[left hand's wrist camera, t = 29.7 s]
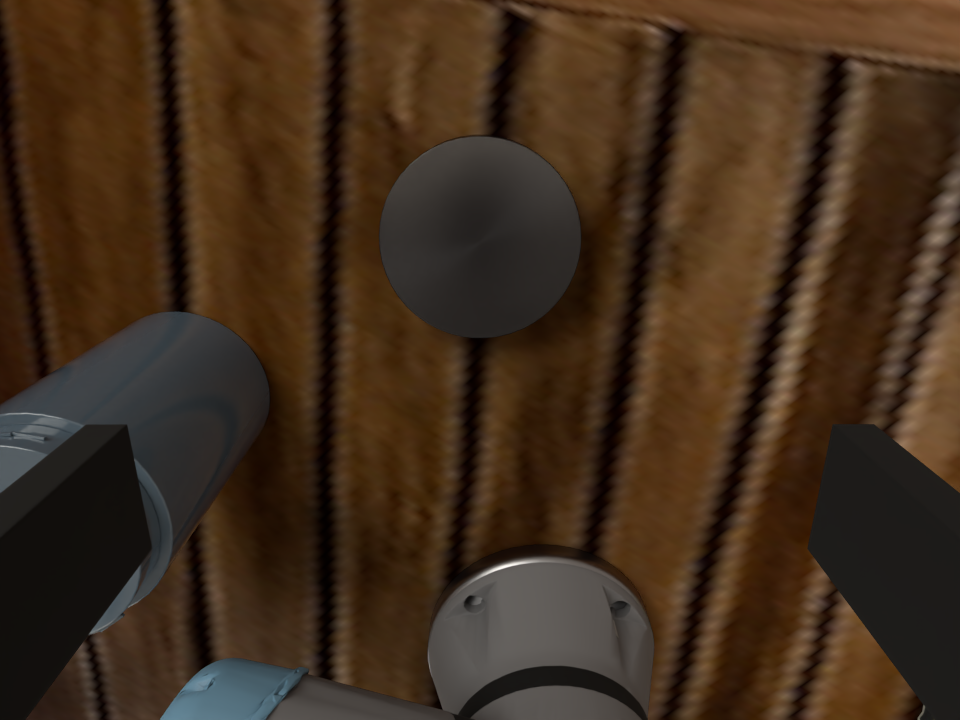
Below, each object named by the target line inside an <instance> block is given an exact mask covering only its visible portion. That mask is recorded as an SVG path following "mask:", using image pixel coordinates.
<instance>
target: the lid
mask: <svg viewBox="0 0 960 720" xmlns="http://www.w3.org/2000/svg"><path fill="white" fill-rule="evenodd" d="M379 244H380V253H381V258H382V263H383V266H384V269H385V272H386V275H387V277H388V279H389V281H390V283H391V286H392V287H393V289H394V290H395V292H396V294H397V295H398V297H399V298H400V299H401V300H402V301H403V303H404V304H405V305H406V306H407V307H408V308H409V309H410V310H411V311H412V312H413V313H414V314H415V315H416V316H418V317H419V318H421V319H422V320H423V321H425V322H426V323H428V324H430V325H432V326H433V327H435V328H437V329H440V330H442V331H445V332H447V333H450V334H454V335H458V336H462V337H470V338H490V337H498V336H502V335H506V334H510V333H513V332H516V331H518V330H521V329H523V328H525V327H527V326H529V325H531V324H532V323H534V322H536V321H537V320H538V319H540V318H541V317H543V316H544V315H545V314H546V313H547V312H548V311H549V310H550V309H552V308H553V307H554V305H555V304H556V303H557V302H558V301H559V300H560V298H561V297H562V296H563V294H564V293H565V291H566V289H567V288H568V286H569V284H570V282H571V280H572V278H573V276H574V273H575V270H576V267H577V264H578V260H579V255H580V250H581V225H580V219H579V214H578V210H577V207H576V204H575V201H574V198H573V196H572V194H571V192H570V190H569V188H568V186H567V184H566V183H565V182H564V180H563V179H562V177H561V176H560V174H559V173H558V172H557V171H556V170H555V169H554V168H553V167H552V166H551V165H550V163H548V162H547V161H546V160H545V159H543V158H542V157H541V156H540V155H539V154H537V153H536V152H534V151H533V150H531V149H530V148H528V147H526V146H525V145H522V144H520V143H518V142H515V141H513V140H510V139H506V138H503V137H499V136H491V135H469V136H462V137H458V138H454V139H450V140H447V141H445V142H443V143H440V144H438V145H436V146H434V147H433V148H431V149H429V150H428V151H426V152H424V153H423V154H422V155H421V156H419V157H418V158H417V159H416V160H415V161H413V162H412V163H411V164H410V165H409V166H408V167H407V168H406V169H405V170H404V171H403V173H402V174H401V175H400V176H399V178H398V179H397V181H396V182H395V184H394V185H393V187H392V189H391V191H390V193H389V195H388V197H387V199H386V202H385V205H384V208H383V211H382V216H381V221H380V230H379Z"/></svg>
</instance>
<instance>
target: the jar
mask: <svg viewBox="0 0 960 720" xmlns="http://www.w3.org/2000/svg"><path fill="white" fill-rule="evenodd" d="M269 406H270V392H269V386H268V381H267V378H266V375H265V372H264V370H263V368H262V365H261V363H260V362H259V360H258V358H257V357H256V355H255V354H254V352H253V351H252V350H251V348H250V347H249V346H248V345H247V344H246V343H245V342H244V341H243V340H242V339H241V338H240V337H239V336H238V335H236V334H235V333H234V332H233V331H231V330H230V329H228V328H227V327H225V326H223V325H222V324H220V323H218V322H216V321H214V320H212V319H209V318H206V317H203V316H200V315H196V314H191V313H185V312H163V313H157V314H152V315H149V316H146V317H143V318H141V319H139V320H137V321H135V322H133V323H132V324H130V325H128V326H127V327H125V328H123V329H122V330H120V331H119V332H117V333H115V334H114V335H112V336H110V337H109V338H107V339H106V340H104V341H102V342H101V343H99V344H98V345H96V346H94V347H93V348H91V349H89V350H88V351H86V352H85V353H83V354H81V355H80V356H78V357H76V358H75V359H73V360H72V361H70V362H68V363H67V364H65V365H63V366H62V367H60V368H59V369H57V370H55V371H54V372H52V373H50V374H49V375H47V376H46V377H44V378H42V379H41V380H39V381H38V382H36V383H34V384H33V385H31V386H29V387H28V388H26V389H25V390H23V391H21V392H20V393H18V394H16V395H15V396H13V397H12V398H10V399H8V400H7V401H5V402H3V403H2V404H0V493H1V492H2V491H4V490H5V489H6V488H7V487H9V486H10V485H11V484H12V483H14V482H15V481H16V480H17V479H19V478H20V477H21V476H22V475H24V474H25V473H26V472H27V471H29V470H30V469H31V468H32V467H34V466H35V465H36V464H37V463H39V462H40V461H41V460H42V459H44V458H45V457H46V456H47V455H49V454H50V453H51V452H52V451H54V450H55V449H56V448H57V447H58V446H60V445H61V444H62V443H63V442H65V441H66V440H67V439H68V438H70V437H71V436H72V435H73V434H75V433H76V432H77V431H78V430H80V429H81V428H82V427H83V426H85V425H86V424H127V426H128V431H129V436H130V441H131V446H132V451H133V456H134V460H135V465H136V470H137V475H138V480H139V485H140V490H141V495H142V500H143V505H144V510H145V515H146V519H147V524H148V529H149V534H150V539H151V544H152V550H151V551H150V553H149V554H148V555H147V557H146V558H145V559H144V561H143V562H142V563H141V565H140V566H139V567H138V569H137V570H136V572H135V573H134V574H133V576H132V577H131V578H130V580H129V581H128V582H127V584H126V585H125V586H124V588H123V589H122V590H121V592H120V593H119V594H118V596H117V597H116V598H115V600H114V601H113V602H112V604H111V605H110V606H109V608H108V609H107V610H106V612H105V613H104V615H103V616H102V617H101V619H100V620H99V621H98V623H97V624H96V625H95V627H94V628H93V629H92V631H91V632H90V633H89V635H90V634H93V633H96V632H99V631H100V632H102V631H103V630H105V629H106V628H108V627H109V626H111V625H112V624H114V623H115V622H117V621H118V620H120V619H121V618H122V617H124V615H125V614H124V613H123V612H124V611H125V610H126V609H127V608H128V607H130V606H132V605H134V604H135V603H137V602H139V601H140V600H141V599H143V598H144V597H145V596H147V595H148V594H149V593H150V592H151V591H152V590H153V589H154V588H155V587H156V586H157V584H158V583H159V581H160V580H161V579H162V577H163V576H164V574H165V573H166V571H167V570H168V568H169V567H170V565H171V564H172V562H173V561H174V559H175V558H176V556H177V555H178V553H179V552H180V550H181V549H182V548H183V546H184V545H185V543H186V542H187V540H188V539H189V537H190V536H191V534H192V533H193V531H194V530H195V528H196V527H197V525H198V524H199V522H200V521H201V520H202V518H203V517H204V515H205V514H206V512H207V511H208V509H209V508H210V506H211V505H212V503H213V502H214V500H215V499H216V497H217V496H218V494H219V493H220V491H221V490H222V489H223V487H224V486H225V484H226V483H227V481H228V480H229V478H230V477H231V475H232V474H233V472H234V471H235V469H236V468H237V466H238V465H239V463H240V462H241V460H242V459H243V458H244V456H245V455H246V453H247V452H248V450H249V449H250V447H251V446H252V444H253V443H254V441H255V440H256V438H257V437H258V435H259V434H260V432H261V431H262V429H263V427H264V425H265V423H266V420H267V416H268V413H269Z"/></svg>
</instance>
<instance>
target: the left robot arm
mask: <svg viewBox="0 0 960 720" xmlns="http://www.w3.org/2000/svg"><path fill="white" fill-rule="evenodd" d="M151 550H152V544H151V539H150V534H149V529H148V524H147V519H146V515H145V510H144V505H143V500H142V495H141V490H140V485H139V480H138V475H137V470H136V465H135V460H134V456H133V451H132V446H131V441H130V436H129V431H128V426H127V424H86V425H85V426H83V427H82V428H81V429H80V430H78V431H77V432H76V433H75V434H73V435H72V436H71V437H70V438H68V439H67V440H66V441H65V442H63V443H62V444H61V445H60V446H58V447H57V448H56V449H55V450H54V451H52V452H51V453H50V454H49V455H47V456H46V457H45V458H44V459H42V460H41V461H40V462H39V463H37V464H36V465H35V466H34V467H32V468H31V469H30V470H29V471H27V472H26V473H25V474H24V475H22V476H21V477H20V478H19V479H17V480H16V481H15V482H14V483H12V484H11V485H10V486H9V487H7V488H6V489H5V490H4V491H2V492H1V493H0V720H25V719H26V718H27V717H28V715H29V714H30V713H31V711H32V710H33V709H34V707H35V706H36V705H37V703H38V702H39V701H40V699H41V698H42V696H43V695H44V694H45V692H46V691H47V690H48V688H49V687H50V686H51V684H52V683H53V682H54V680H55V679H56V678H57V676H58V675H59V674H60V672H61V671H62V670H63V668H64V667H65V666H66V664H67V663H68V662H69V660H70V659H71V658H72V656H73V655H74V653H75V652H76V651H77V649H78V648H79V647H80V645H81V644H82V643H83V641H84V640H85V639H86V637H87V636H88V635H89V633H90V632H91V631H92V629H93V628H94V627H95V625H96V624H97V623H98V621H99V620H100V619H101V617H102V616H103V615H104V613H105V612H106V610H107V609H108V608H109V606H110V605H111V604H112V602H113V601H114V600H115V598H116V597H117V596H118V594H119V593H120V592H121V590H122V589H123V588H124V586H125V585H126V584H127V582H128V581H129V580H130V578H131V577H132V576H133V574H134V573H135V572H136V570H137V569H138V567H139V566H140V565H141V563H142V562H143V561H144V559H145V558H146V557H147V555H148V554H149V553H150V551H151ZM808 550H809V551H810V553H811V554H812V555H813V557H814V558H815V559H816V561H817V562H818V563H819V565H820V566H821V567H822V569H823V570H824V572H825V573H826V574H827V576H828V577H829V578H830V580H831V581H832V582H833V584H834V585H835V586H836V588H837V589H838V590H839V592H840V593H841V594H842V596H843V597H844V598H845V600H846V601H847V602H848V604H849V605H850V606H851V608H852V609H853V610H854V612H855V613H856V615H857V616H858V617H859V619H860V620H861V621H862V623H863V624H864V625H865V627H866V628H867V629H868V631H869V632H870V633H871V635H872V636H873V637H874V639H875V640H876V641H877V643H878V644H879V645H880V647H881V648H882V649H883V651H884V652H885V653H886V655H887V656H888V658H889V659H890V660H891V662H892V663H893V664H894V666H895V667H896V668H897V670H898V671H899V672H900V674H901V675H902V676H903V678H904V679H905V680H906V682H907V683H908V684H909V686H910V687H911V688H912V690H913V691H914V692H915V694H916V695H917V696H918V698H919V699H920V701H921V702H922V703H923V705H924V706H925V707H926V709H927V710H928V711H929V713H930V714H931V715H932V717H933V718H934V719H935V720H960V493H959V492H958V491H956V490H955V489H954V488H953V487H951V486H950V485H949V484H948V483H946V482H945V481H944V480H943V479H941V478H940V477H939V476H938V475H936V474H935V473H934V472H933V471H931V470H930V469H929V468H928V467H926V466H925V465H924V464H923V463H921V462H920V461H919V460H918V459H916V458H915V457H914V456H913V455H911V454H910V453H909V452H908V451H906V450H905V449H904V448H903V447H902V446H900V445H899V444H898V443H897V442H895V441H894V440H893V439H892V438H890V437H889V436H888V435H887V434H885V433H884V432H883V431H882V430H880V429H879V428H878V427H877V426H875V425H874V424H833V426H832V431H831V436H830V441H829V446H828V451H827V456H826V460H825V465H824V470H823V475H822V480H821V485H820V490H819V495H818V500H817V505H816V510H815V515H814V519H813V524H812V529H811V534H810V539H809V544H808ZM653 656H654V638H653V632H652V629H651V625H650V622H649V619H648V616H647V613H646V610H645V607H644V604H643V602H642V599H641V597H640V595H639V594H638V592H637V590H636V589H635V587H634V586H633V585H632V583H631V582H630V581H629V580H628V579H627V578H626V577H625V575H623V574H622V573H621V572H620V571H619V570H618V569H616V568H615V567H614V566H612V565H611V564H609V563H608V562H606V561H604V560H603V559H601V558H599V557H597V556H594V555H592V554H590V553H587V552H584V551H581V550H578V549H574V548H570V547H564V546H557V545H527V546H520V547H514V548H510V549H506V550H502V551H500V552H497V553H494V554H491V555H489V556H487V557H485V558H482V559H481V560H479V561H477V562H475V563H473V564H472V565H470V566H469V567H468V568H466V569H465V570H463V571H462V572H461V573H460V574H459V575H457V576H456V577H455V578H454V579H453V580H452V582H451V583H450V584H449V585H448V586H447V587H446V589H445V590H444V591H443V593H442V595H441V596H440V598H439V600H438V602H437V604H436V606H435V608H434V611H433V614H432V618H431V623H430V632H429V642H428V662H429V668H430V672H431V675H432V678H433V681H434V684H435V687H436V690H437V693H438V696H439V699H440V702H441V705H442V709H443V710H440V709H437V708H433V707H429V706H425V705H421V704H418V703H414V702H410V701H406V700H403V699H399V698H395V697H391V696H387V695H384V694H380V693H376V692H372V691H369V690H365V689H361V688H357V687H353V686H350V685H346V684H342V683H338V682H335V681H331V680H327V679H323V678H319V677H316V676H312V675H308V672H309V669H307V668H304V667H299V668H297V669H295V670H294V669H289V668H284V667H279V666H275V665H270V664H265V663H260V662H255V661H251V660H246V659H241V658H228V659H222V660H219V661H216V662H214V663H212V664H210V665H208V666H206V667H205V668H203V669H202V670H201V671H199V672H198V673H197V674H196V675H195V676H194V677H193V678H192V679H191V680H190V681H189V682H188V683H187V684H186V685H185V686H184V687H183V689H182V690H181V691H180V692H179V694H178V695H177V696H176V698H175V699H174V700H173V702H172V703H171V704H170V706H169V707H168V709H167V710H166V711H165V713H164V714H163V716H162V717H161V719H160V720H648V718H647V717H648V707H649V697H650V687H651V676H652V666H653Z"/></svg>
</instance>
